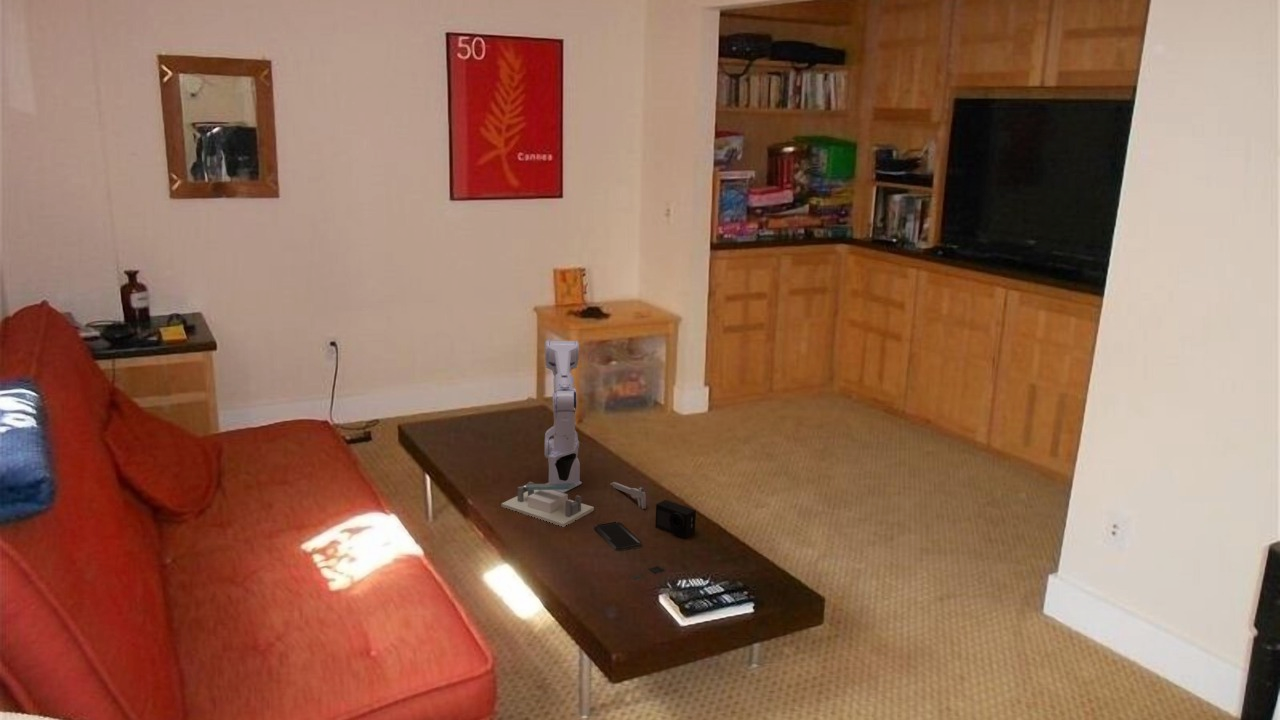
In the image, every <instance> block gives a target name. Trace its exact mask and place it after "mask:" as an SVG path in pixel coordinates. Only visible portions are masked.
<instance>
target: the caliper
mask: <svg viewBox="0 0 1280 720" xmlns="http://www.w3.org/2000/svg"><path fill="white" fill-rule="evenodd" d="M609 485H610V486H611V487H612V486H613V489H616V490H618V491H622V492H624V493H626V494H628V495H631V498H633V499H637V500H636V501H637V505H638V508H641V510H645V509H646V508H647V506H646V505H647V496H646V492H645V488H644V487H639V488H635V487H629V486H626V485H623V484H621V483H619V482H616V481H614V482H610V484H609Z"/></svg>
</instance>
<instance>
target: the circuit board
mask: <svg viewBox="0 0 1280 720" xmlns="http://www.w3.org/2000/svg"><path fill="white" fill-rule="evenodd" d="M647 570H648V571H649V572H651V573H652V574H654V575H657V574H661V573H663V572H665V570H664V569H663V568H662V567H660V566H658V565H657V566H654V567H650V568H647ZM630 577H631V578H633V580H639V579H642V576H640V575H639V574H638V573H637V574H634V575H631V576H630Z"/></svg>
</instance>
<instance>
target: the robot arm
mask: <svg viewBox="0 0 1280 720" xmlns="http://www.w3.org/2000/svg"><path fill="white" fill-rule="evenodd" d="M544 359H545V368H547V369H549V370H551V372H552V374H553V392H552V411H553V426H551V427H550V428H548V429H547V430H546V431H545V434H544V457H545V458H546V459H547V461H548V462H547V463H548V482H546V483H545V484H569V483H575V487H573V488H571V489H569V490H555V491H558V492H561V493H564V494H565V493H566V492H568V491H570V490H572V489H574V488H576V487H578V486H580V485H582V481H580V474H581V473H580V472H581V469H580V468H581V467H580V466H581V465H580V464H581V463H580V460H579V458H578V456H579V448H580V440H579V438H578V432H577V431H576V412H577V409H578V393H577V389H576V388H575V376H573V374H572V373H571V371H572V370H575V369H577V367H578V364H579V359H580V342H579V341H578V340H549V339H547V340H546V341H545V343H544Z"/></svg>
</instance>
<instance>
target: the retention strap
mask: <svg viewBox="0 0 1280 720" xmlns="http://www.w3.org/2000/svg"><path fill="white" fill-rule="evenodd" d="M521 487H523V488H524V491H528V490H568V491H570V490H572V489H574V488H576V487H575V483H569V484H546V483H534V484H529V483H528V482H527V483H526V484H525V485H522V486H521ZM573 487H574V488H573ZM571 488H572V489H571ZM569 489H570V490H569Z"/></svg>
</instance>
